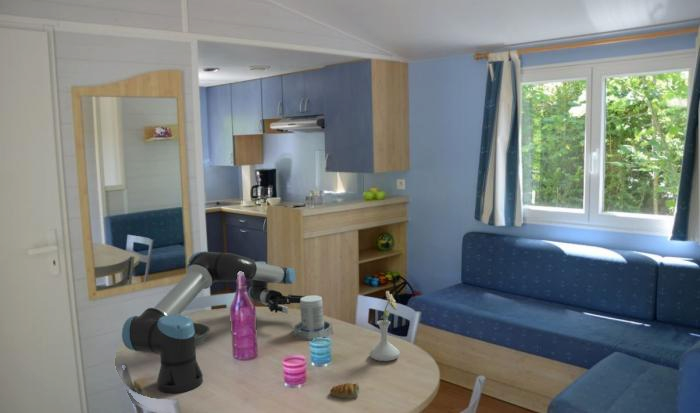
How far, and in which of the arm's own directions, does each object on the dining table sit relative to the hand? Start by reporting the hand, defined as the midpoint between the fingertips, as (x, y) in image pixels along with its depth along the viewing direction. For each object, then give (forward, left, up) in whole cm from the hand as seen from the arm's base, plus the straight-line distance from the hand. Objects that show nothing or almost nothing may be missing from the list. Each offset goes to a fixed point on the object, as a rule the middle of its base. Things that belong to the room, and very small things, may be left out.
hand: (300, 307), depth 250 cm
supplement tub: (-8, -1, -9) cm, 13 cm away
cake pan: (+19, +48, -10) cm, 52 cm away
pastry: (-67, +19, -10) cm, 70 cm away
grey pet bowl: (-8, -1, -10) cm, 13 cm away
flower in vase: (-49, -9, -10) cm, 51 cm away
